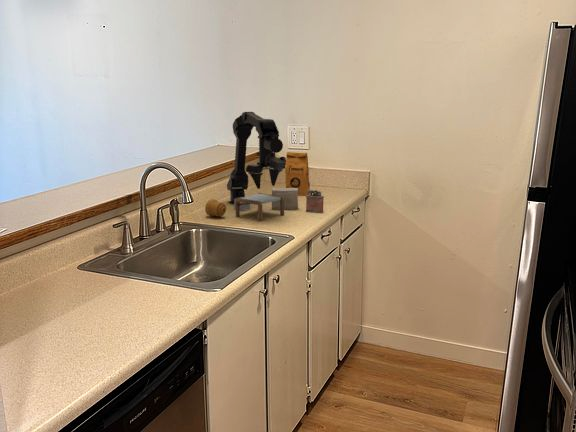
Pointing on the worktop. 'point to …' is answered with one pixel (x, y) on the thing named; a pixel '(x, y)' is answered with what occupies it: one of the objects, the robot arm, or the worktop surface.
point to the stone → (243, 207)
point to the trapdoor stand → (245, 201)
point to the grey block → (286, 198)
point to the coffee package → (297, 172)
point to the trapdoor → (262, 198)
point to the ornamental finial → (215, 208)
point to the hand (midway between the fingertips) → (266, 187)
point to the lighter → (314, 202)
